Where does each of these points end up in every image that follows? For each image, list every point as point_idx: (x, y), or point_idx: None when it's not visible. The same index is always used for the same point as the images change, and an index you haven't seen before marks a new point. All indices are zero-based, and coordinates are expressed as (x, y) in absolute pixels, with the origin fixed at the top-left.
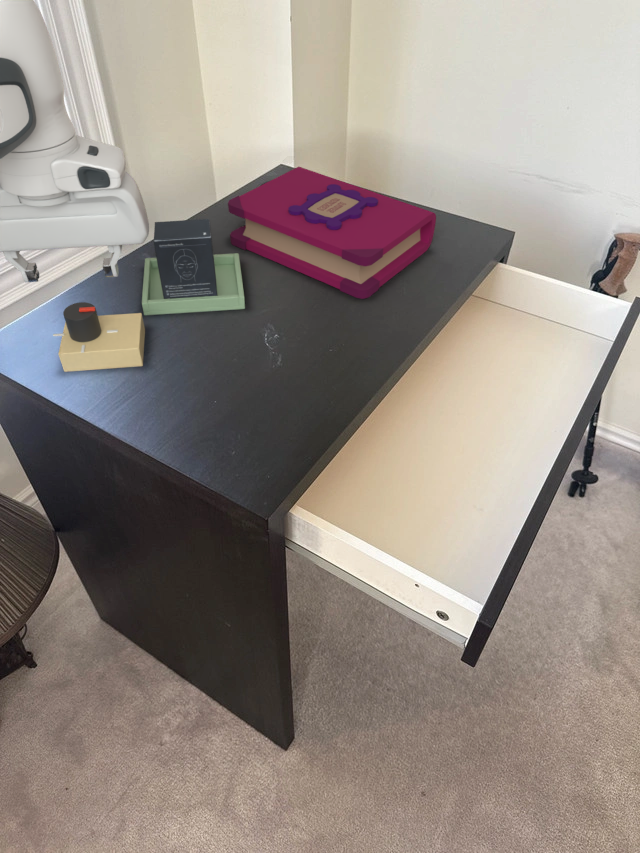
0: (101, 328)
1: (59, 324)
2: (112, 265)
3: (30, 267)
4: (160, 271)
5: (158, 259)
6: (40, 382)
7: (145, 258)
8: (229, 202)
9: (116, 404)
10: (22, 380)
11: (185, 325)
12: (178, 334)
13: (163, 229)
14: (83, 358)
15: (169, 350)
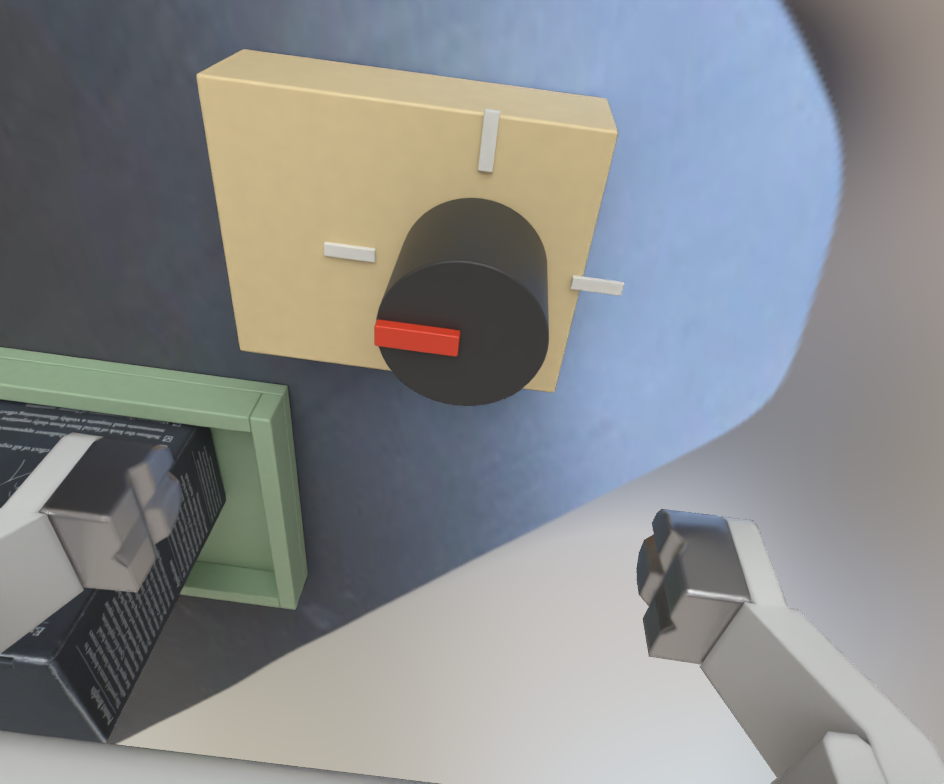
0: None
1: (590, 408)
2: (21, 507)
3: (698, 622)
4: None
5: None
6: (729, 42)
7: (294, 608)
8: None
9: None
10: (807, 82)
11: (118, 295)
12: (132, 247)
13: (35, 708)
14: (499, 101)
15: (143, 146)
